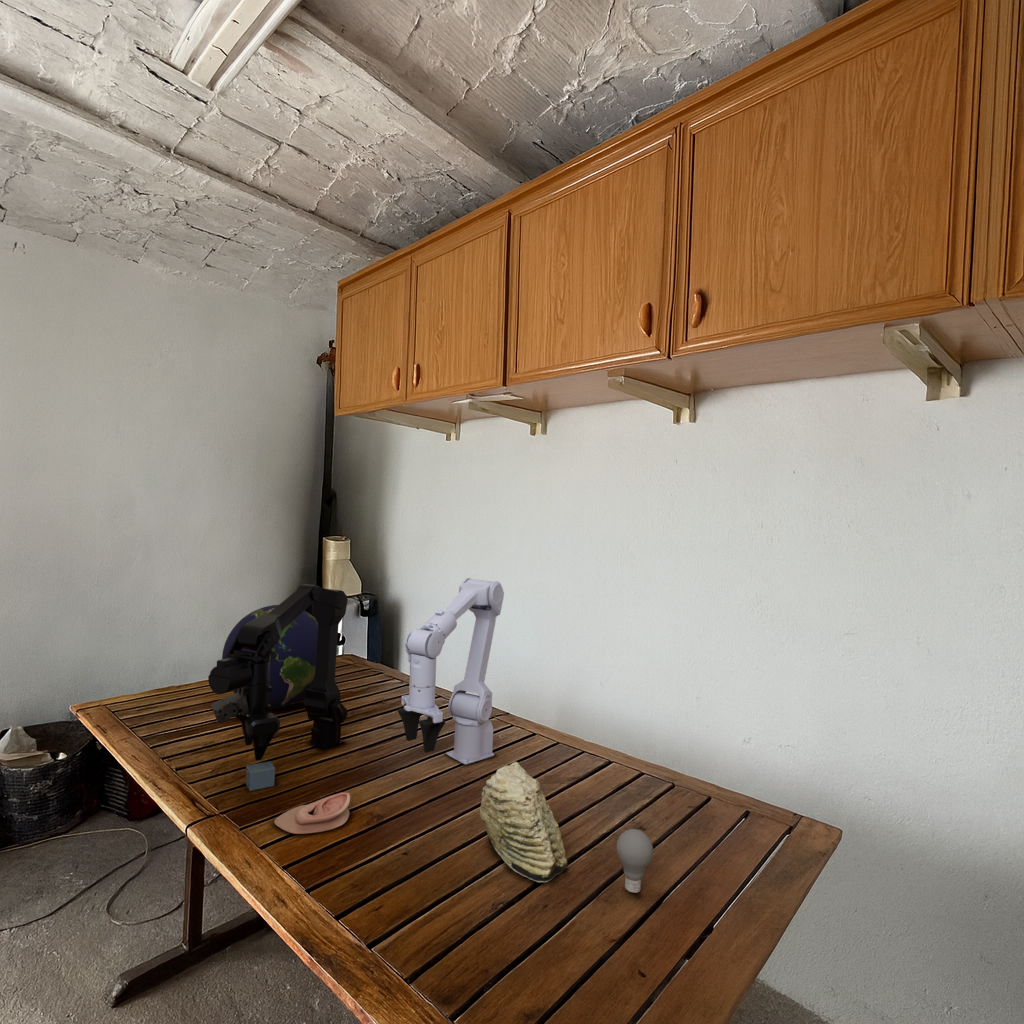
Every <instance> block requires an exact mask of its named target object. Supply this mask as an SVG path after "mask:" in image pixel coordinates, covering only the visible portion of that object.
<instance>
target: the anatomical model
mask: <svg viewBox="0 0 1024 1024" xmlns="http://www.w3.org/2000/svg"><path fill="white" fill-rule="evenodd" d="M350 803H351V794H350V792H347V791H346V792H339V793H336V794H332V795H329V796H326V797H323V798H321V799H318V800H316V801H313V802H311V803H308V804H303V805H299V806H295V807H293V808H291V809H289V810H287V811H285V812H283V813H282V814H280V815H279V816H277V817H276V818H275V819H274V825H275V826H276V827H278V828H280V829H281V830H283V831H285V832H287V833H289V834H293V835H300V834H301V835H305V834H313V833H322V832H326V831H331V830H334V829H336V828H339V827H341V826H343V825H344V824H345V823H347V821H348V820H349V817H350V809H349V808H348V807H349V806H350Z"/></svg>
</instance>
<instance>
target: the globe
mask: <svg viewBox="0 0 1024 1024" xmlns="http://www.w3.org/2000/svg"><path fill="white" fill-rule="evenodd" d="M278 605H279V604H272V605H266V606H263V607H260V608H257V609H255V610H253V611H251V612H250V613H248V614H246V615H245V616H243V618H241V619H240V620H239V621H238V622H237V623H235V625H234V627H232V629H231V631H230V632H229V634H228V635H227V637H226V640H225V642H224V645H223V649H222V654H221V659H228V658H230V657H227V656H226V655H227V653H228V651H229V649H230V647H231V646H232V644H233V642H234V640H235V638H236V636H237V634H238V633H239V629H240V628H241V627H242V626H243V625H244V624H246V623H248V622H249V621H251V620H253V619H255V618H259V617H262V616H265V615H267V614H269V613H270V612H271V611H272V610H273V609H275V608H276V607H277V606H278ZM317 634H318V623H317V621H316V619H315V617H314V615H313V614H311V613H310V612H308V611H306V610H305V611H304V612H302V613H301V614H300V615H299V616H298V617H297V618H296V619H295V620H293V621H292V622H291V623H290V624H289V625H288V626H287V627H285V628H284V630H283V631H282V634H281V639H280V640H279V641H278V642H277V643H276V645H275V646H274V647H273V648H272V651H273V652H275V653H276V654H277V657H276V658H272V659H270V680H269V685H270V686H271V687H272V692H269V704H270V705H271V710H272V709H282V708H285V707H289V706H293V705H295V704H298V703H299V702H301V701H303V700H305V691H306V689H309V688H310V687H311V685H312V684H313V682H314V679H315V665H316V649H317ZM241 650H242V651H248V652H254V653H256V651H252V650H246V649H241ZM237 691H238V689H236V690H233V691H232V692H233V694H236V693H237Z"/></svg>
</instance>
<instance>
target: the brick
mask: <svg viewBox="0 0 1024 1024" xmlns="http://www.w3.org/2000/svg"><path fill="white" fill-rule="evenodd" d="M275 777H276V767H275V766H274V765H273V763H272V761H271V760H270V761H264V762H260V763H253V764H248V765H246V766H245V786H246V788H247V789H248V791H249V792H251V791H257V790H261V789H265V788H270V787H274V786H275V782H276V781H275V779H276V778H275Z"/></svg>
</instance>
